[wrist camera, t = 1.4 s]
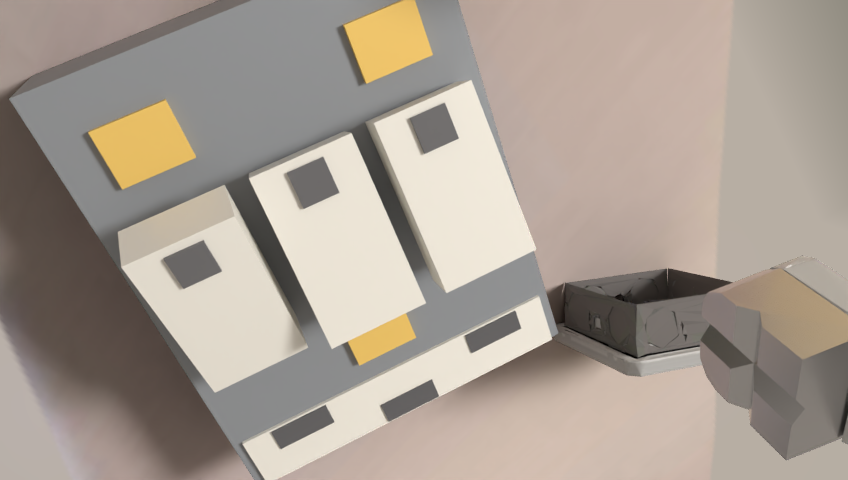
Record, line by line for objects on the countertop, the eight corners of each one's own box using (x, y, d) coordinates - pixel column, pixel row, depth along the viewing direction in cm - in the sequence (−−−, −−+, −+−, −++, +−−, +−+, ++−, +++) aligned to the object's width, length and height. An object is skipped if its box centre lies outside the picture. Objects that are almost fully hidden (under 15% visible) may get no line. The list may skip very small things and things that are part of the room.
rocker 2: (414, 289, 33) (426, 304, 31) (326, 332, 33) (332, 350, 30) (344, 131, 31) (352, 132, 29) (249, 173, 31) (248, 178, 28)
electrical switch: (546, 336, 46) (629, 407, 38) (549, 260, 44) (636, 317, 36) (669, 316, 49) (772, 378, 40) (676, 244, 47) (785, 293, 39)
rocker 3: (517, 240, 34) (537, 250, 32) (433, 280, 33) (447, 294, 31) (455, 81, 32) (472, 79, 30) (365, 122, 31) (374, 123, 29)
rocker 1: (295, 314, 34) (309, 349, 32) (207, 356, 33) (215, 395, 31) (224, 184, 29) (235, 217, 27) (117, 231, 28) (121, 269, 26)
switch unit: (520, 294, 44) (564, 339, 39) (249, 428, 41) (259, 495, 36) (401, -74, 34) (441, -75, 29) (31, 76, 31) (5, 102, 26)
